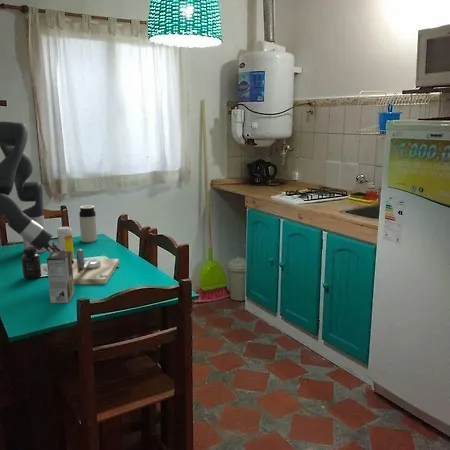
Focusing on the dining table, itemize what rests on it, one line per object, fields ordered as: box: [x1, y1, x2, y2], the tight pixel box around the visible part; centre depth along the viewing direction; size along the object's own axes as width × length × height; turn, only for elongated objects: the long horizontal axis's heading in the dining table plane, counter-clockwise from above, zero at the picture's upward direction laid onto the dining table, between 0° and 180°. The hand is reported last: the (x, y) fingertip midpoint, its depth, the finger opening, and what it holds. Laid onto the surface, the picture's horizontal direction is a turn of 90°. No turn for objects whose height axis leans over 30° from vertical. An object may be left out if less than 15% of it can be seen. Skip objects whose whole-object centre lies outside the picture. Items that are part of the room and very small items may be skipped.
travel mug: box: [78, 204, 98, 243], centre depth 245 cm, size 8×8×18 cm
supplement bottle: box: [20, 247, 42, 281], centre depth 188 cm, size 7×7×12 cm
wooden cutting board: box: [72, 258, 120, 285], centre depth 194 cm, size 20×27×2 cm
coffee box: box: [46, 251, 75, 304], centre depth 166 cm, size 9×6×16 cm
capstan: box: [75, 248, 101, 273], centre depth 190 cm, size 21×9×10 cm, turn 2°
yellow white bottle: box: [57, 226, 75, 259], centre depth 210 cm, size 6×6×15 cm
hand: (72, 263), depth 182 cm, fingers closed
